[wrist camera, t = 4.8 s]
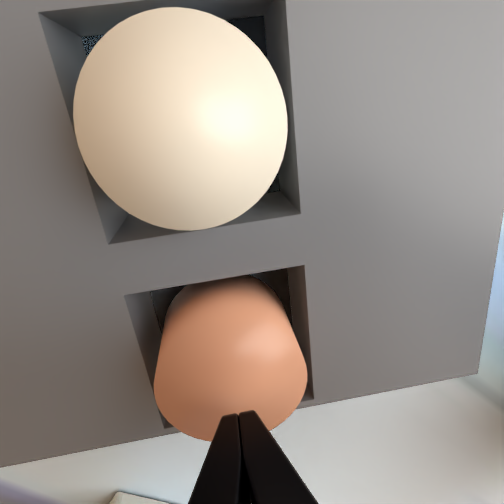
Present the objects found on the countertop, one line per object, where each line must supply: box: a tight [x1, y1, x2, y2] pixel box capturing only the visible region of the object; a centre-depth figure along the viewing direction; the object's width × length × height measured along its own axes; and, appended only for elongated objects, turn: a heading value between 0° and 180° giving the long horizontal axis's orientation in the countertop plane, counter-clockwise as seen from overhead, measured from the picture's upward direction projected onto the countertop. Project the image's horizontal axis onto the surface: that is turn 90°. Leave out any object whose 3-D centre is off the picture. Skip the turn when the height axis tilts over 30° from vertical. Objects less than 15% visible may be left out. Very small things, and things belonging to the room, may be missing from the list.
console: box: [0, 0, 504, 468], centre depth 10 cm, size 18×20×3 cm
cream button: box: [73, 7, 288, 231], centre depth 9 cm, size 4×4×3 cm
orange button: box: [154, 275, 307, 441], centre depth 12 cm, size 4×4×3 cm
